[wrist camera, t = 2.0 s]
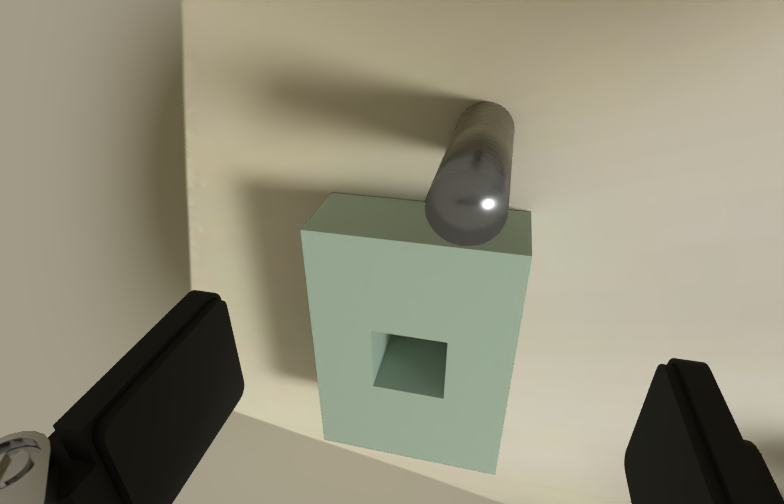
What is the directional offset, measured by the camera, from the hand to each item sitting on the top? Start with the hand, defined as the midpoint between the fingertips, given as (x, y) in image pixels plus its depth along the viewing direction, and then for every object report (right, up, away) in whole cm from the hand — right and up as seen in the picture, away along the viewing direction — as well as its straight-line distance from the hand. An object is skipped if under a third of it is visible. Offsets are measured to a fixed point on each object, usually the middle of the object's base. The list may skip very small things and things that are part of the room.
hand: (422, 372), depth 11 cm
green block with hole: (+2, -2, +22) cm, 23 cm away
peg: (+4, +9, +15) cm, 18 cm away
